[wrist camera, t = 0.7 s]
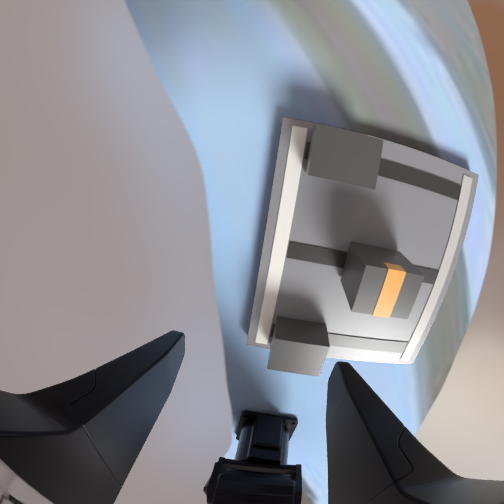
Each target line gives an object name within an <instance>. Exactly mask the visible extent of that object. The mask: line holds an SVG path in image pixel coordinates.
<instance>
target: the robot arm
mask: <svg viewBox="0 0 504 504" xmlns="http://www.w3.org/2000/svg"><path fill="white" fill-rule="evenodd" d="M184 353H185V335H184V333H182V332H178V331H170V332H168V333H166V334H164V335H163V336H161V337H159V338H157V339H155V340H153V341H151V342H149V343H147V344H145V345H143V346H141V347H139V348H137V349H135V350H133V351H131V352H129V353H127V354H125V355H123V356H120V357H118V358H116V359H114V360H113V361H110V362H108V363H106V364H104V365H102V366H100V367H98V368H96V370H95V369H93V370H91V371H89V372H87V373H85V374H83V375H80V376H78V377H76V378H73V379H71V380H68V381H65V382H62V383H60V384H57V385H53V386H50V387H47V388H44V389H42V390H38V391H35V392H31V393H27V394H12V393H8V392H4V391H1V390H0V504H113V503H114V502H115V500H116V498H117V496H118V494H119V492H120V490H121V488H122V487H121V486H123V484H124V482H125V480H126V478H127V476H128V474H129V472H130V470H131V468H132V466H133V464H134V462H135V460H136V458H137V457H138V455H139V453H140V451H141V449H142V447H143V445H144V443H145V441H146V439H147V437H148V435H149V433H150V431H151V429H152V428H153V426H154V424H155V422H156V420H157V418H158V416H159V414H160V412H161V410H162V408H163V406H164V404H165V402H166V401H167V399H168V397H169V395H170V393H171V390H172V387H173V385H174V382H175V379H176V376H177V374H178V371H179V368H180V365H181V363H182V360H183V357H184ZM297 424H298V420H297V419H295V418H287V417H280V416H273V415H266V414H260V413H254V412H249V411H243V412H242V413H241V418H240V422H239V427H238V432H237V436H236V439H237V440H239V443H238V447H237V452H236V456H235V460H232V459H225V458H224V457H220V458H219V461H218V462H216V463H215V465H214V469H213V472H212V475H211V477H210V478H209V480H208V482H207V483H206V485H205V487H204V492H205V494H206V495H207V504H301V497H302V474H301V464H296V465H287V457H288V444H289V440H290V438H291V436H292V434H293V432H294V430H295V428H296V426H297ZM326 435H327V458H328V504H504V481H493V480H478V479H469V478H464V477H461V476H458V475H456V474H455V473H453V472H452V471H451V470H450V469H448V468H447V467H446V466H445V465H444V464H443V463H442V462H441V461H439V460H438V459H437V458H436V457H435V456H434V455H433V454H432V453H430V452H429V451H428V450H427V449H426V448H425V447H424V446H423V445H422V444H421V443H420V442H419V441H418V440H417V439H416V438H415V437H414V436H413V435H412V434H411V432H410V431H409V430H408V429H407V428H406V427H404V425H403V423H402V422H401V421H400V420H399V419H398V418H397V417H396V416H395V414H394V413H393V412H392V411H391V410H390V409H389V408H388V407H387V405H386V404H385V403H384V402H383V401H382V400H381V399H380V397H379V396H378V395H377V394H376V393H375V392H374V391H373V390H372V388H371V387H370V386H369V385H368V384H367V383H366V382H365V381H364V379H363V378H362V377H361V376H360V375H359V374H358V373H357V371H356V370H355V369H354V368H353V367H352V366H351V365H350V364H349V363H348V362H340V361H338V362H337V363H336V364H335V366H334V368H333V370H332V373H331V375H330V377H329V380H328V391H327V409H326Z"/></svg>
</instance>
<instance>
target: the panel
mask: <svg viewBox="0 0 504 504" xmlns="http://www.w3.org/2000/svg"><path fill="white" fill-rule="evenodd" d="M478 176H479V175H478V174H475V173H473V172H471V171H469V170H467V169H464V168H462V167H460V166H457V165H455V164H453V163H450V162H448V161H445V160H443V159H440V158H437V157H435V156H432V155H429V154H427V153H424V152H421V151H418V150H415V149H413V148H410V147H407V146H403V145H400V144H397V143H394V142H391V141H387V140H384V139H381V138H377V137H374V136H370V135H366V134H362V133H359V132H355V131H350V130H346V129H342V128H338V127H333V126H329V125H324V124H319V123H314V122H308V121H303V120H297V119H291V118H285V117H283V121H282V127H281V134H280V141H279V147H278V154H277V160H276V167H275V173H274V180H273V186H272V192H271V199H270V205H269V211H268V218H267V224H266V230H265V236H264V243H263V249H262V255H261V261H260V267H259V273H258V279H257V285H256V291H255V297H254V303H253V309H252V315H251V321H250V327H249V333H248V338H247V344H246V345H251V346H257V347H262V348H268V349H270V352H269V360H268V367H267V369H271V370H277V371H284V372H290V373H297V374H305V375H313V376H319V374H320V371H321V369H322V366H323V364H324V361H325V359H326V357H328V358H336V359H345V360H355V361H366V362H379V363H395V364H412V363H413V361H414V359H415V358H416V356H417V354H418V352H419V350H420V348H421V346H422V344H423V343H424V341H425V339H426V337H427V335H428V332H429V330H430V328H431V326H432V324H433V322H434V320H435V318H436V315H437V313H438V311H439V309H440V306H441V304H442V301H443V299H444V297H445V294H446V292H447V289H448V286H449V284H450V281H451V278H452V276H453V273H454V270H455V267H456V264H457V261H458V258H459V255H460V252H461V249H462V245H463V242H464V239H465V235H466V231H467V228H468V224H469V220H470V216H471V211H472V207H473V202H474V198H475V193H476V187H477V182H478ZM350 241H352V242H357V243H362V244H367V245H372V246H376V247H381V248H386V249H391V250H395V251H400V252H401V253H402V254H403V255H404V256H405V257H406V258H407V259H408V260H409V261H410V262H411V263H412V264H413V265H414V266H415V267H416V268H417V269H418V270H419V271H420V272H421V273H422V274H423V275H424V279H423V282H422V285H421V287H420V290H419V293H418V295H417V298H416V300H415V303H414V305H413V308H412V310H411V313H410V315H409V317H408V319H402V318H394V317H389V318H385V317H377V316H372V315H371V314H364V313H357V312H351V309H350V306H349V303H348V301H347V298H346V295H345V292H344V289H343V286H342V284H341V281H340V279H341V276H342V272H343V268H344V265H345V261H346V257H347V253H348V249H349V245H350Z"/></svg>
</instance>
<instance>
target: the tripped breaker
mask: <svg viewBox="0 0 504 504" xmlns="http://www.w3.org/2000/svg"><path fill="white" fill-rule="evenodd" d="M423 279H424V275H423V274H422V273H421V272H420V271H419V270H418V269H417V268H416V267H415V266H414V265H413V264H412V263H411V262H410V261H409V260H408V259H407V258H406V257H405V256H404V255H403V254H402V253H401V252H400V251H395V250H391V249H386V248H381V247H376V246H372V245H367V244H362V243H357V242H352V241H350V245H349V249H348V253H347V257H346V261H345V265H344V268H343V272H342V276H341V279H340V281H341V284H342V286H343V289H344V292H345V295H346V298H347V301H348V303H349V306H350V309H351V312H357V313H364V314H371V315H372V316H377V317H385V318H389V317H394V318H402V319H408V317H409V315H410V313H411V310H412V308H413V305H414V303H415V300H416V298H417V295H418V293H419V290H420V287H421V285H422V282H423Z"/></svg>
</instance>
